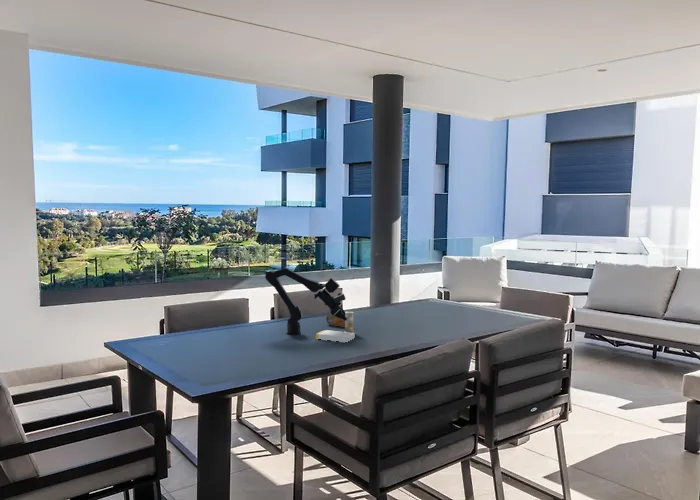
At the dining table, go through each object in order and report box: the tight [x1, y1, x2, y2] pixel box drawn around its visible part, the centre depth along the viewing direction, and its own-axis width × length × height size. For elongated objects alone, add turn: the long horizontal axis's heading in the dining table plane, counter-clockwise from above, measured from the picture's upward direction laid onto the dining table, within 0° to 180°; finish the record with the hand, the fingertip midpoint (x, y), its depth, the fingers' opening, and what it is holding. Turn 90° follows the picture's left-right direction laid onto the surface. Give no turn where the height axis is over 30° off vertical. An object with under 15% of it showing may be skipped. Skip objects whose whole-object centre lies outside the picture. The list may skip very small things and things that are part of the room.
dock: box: [315, 329, 356, 343], centre depth 290 cm, size 18×11×3 cm, turn 67°
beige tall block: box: [343, 311, 355, 333], centre depth 302 cm, size 6×6×12 cm
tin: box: [326, 312, 345, 328], centre depth 324 cm, size 15×3×8 cm, turn 62°
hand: (346, 318), depth 302 cm, fingers open, 9 cm apart
